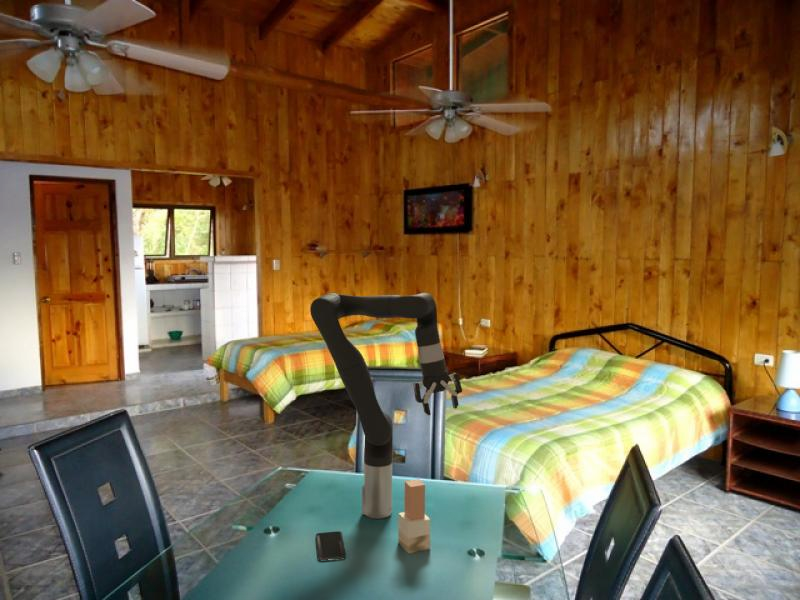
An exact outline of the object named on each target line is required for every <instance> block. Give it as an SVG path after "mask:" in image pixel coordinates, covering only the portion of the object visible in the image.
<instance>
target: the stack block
mask: <svg viewBox="0 0 800 600" xmlns="http://www.w3.org/2000/svg"><path fill="white" fill-rule="evenodd" d="M425 511H426V484H425V483H424V482H423V481H422V480H421V479H420V478H419V479H417V478H416V479H411V480H404V512H405V515H406V516H407V517H408V519H409V520H410V521H412V520H418V519H423V518H425V514H426V513H425Z"/></svg>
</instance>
